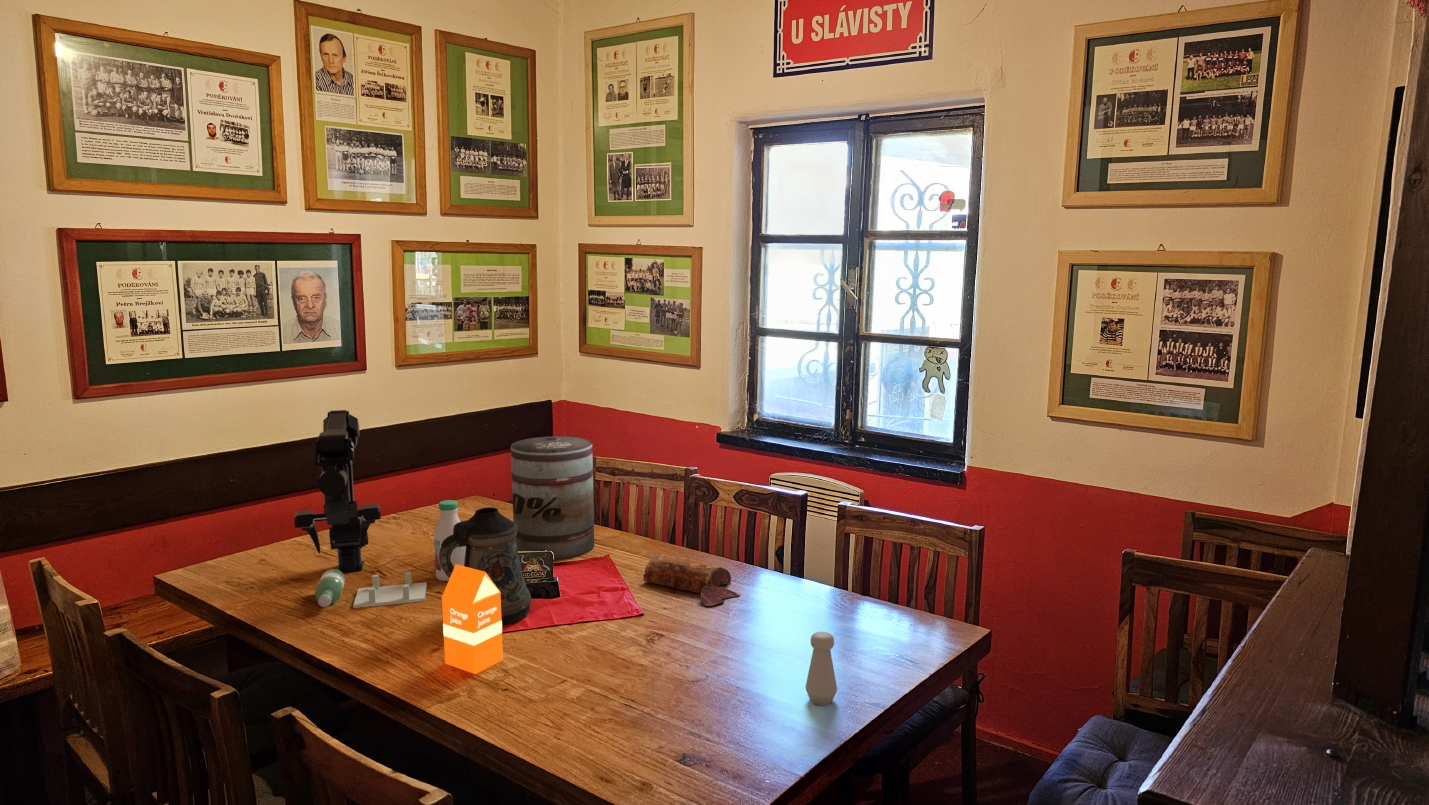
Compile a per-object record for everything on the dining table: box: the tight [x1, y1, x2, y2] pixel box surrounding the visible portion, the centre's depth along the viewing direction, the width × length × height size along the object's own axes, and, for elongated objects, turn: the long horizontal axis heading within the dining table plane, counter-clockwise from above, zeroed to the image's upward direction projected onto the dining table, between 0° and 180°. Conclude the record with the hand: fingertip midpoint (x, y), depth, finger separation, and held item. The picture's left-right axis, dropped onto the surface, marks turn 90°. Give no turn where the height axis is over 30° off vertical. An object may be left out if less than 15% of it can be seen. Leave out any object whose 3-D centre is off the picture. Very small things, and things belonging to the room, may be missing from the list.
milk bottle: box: [433, 499, 466, 582], centre depth 227 cm, size 8×8×20 cm
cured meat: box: [642, 553, 741, 607], centre depth 220 cm, size 18×25×7 cm
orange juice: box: [441, 564, 504, 675], centre depth 178 cm, size 8×9×20 cm
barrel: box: [510, 436, 595, 561], centre depth 249 cm, size 22×22×30 cm
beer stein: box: [439, 507, 532, 627], centre depth 201 cm, size 16×19×25 cm
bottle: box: [314, 568, 346, 608], centre depth 211 cm, size 14×6×6 cm, turn 16°
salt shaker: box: [805, 631, 838, 707], centre depth 163 cm, size 6×6×13 cm
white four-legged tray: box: [352, 571, 427, 609], centre depth 215 cm, size 16×11×4 cm
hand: (340, 550), depth 211 cm, fingers open, 9 cm apart
